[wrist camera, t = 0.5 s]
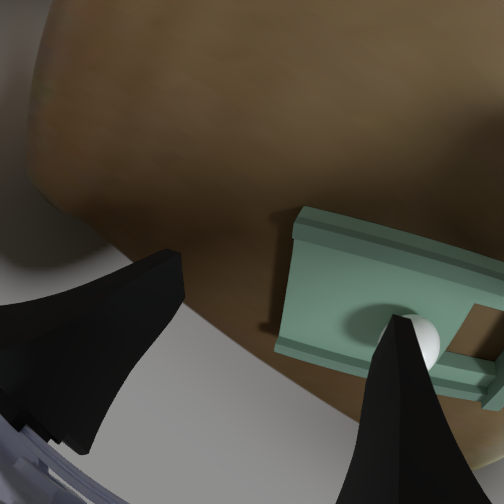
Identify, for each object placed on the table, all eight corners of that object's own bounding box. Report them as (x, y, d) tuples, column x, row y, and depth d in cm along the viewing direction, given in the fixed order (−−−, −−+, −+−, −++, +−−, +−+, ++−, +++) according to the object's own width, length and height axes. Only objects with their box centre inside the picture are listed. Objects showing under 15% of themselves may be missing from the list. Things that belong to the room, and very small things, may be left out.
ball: (448, 309, 17) (453, 357, 14) (423, 350, 19) (422, 397, 16) (391, 294, 18) (387, 342, 15) (372, 337, 20) (364, 384, 17)
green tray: (566, 284, 13) (580, 312, 11) (495, 383, 20) (498, 411, 17) (304, 205, 19) (290, 228, 17) (283, 330, 25) (271, 358, 23)
